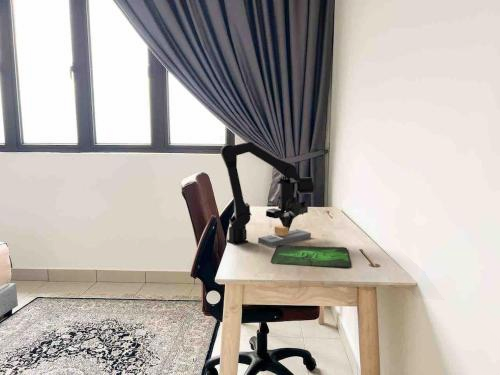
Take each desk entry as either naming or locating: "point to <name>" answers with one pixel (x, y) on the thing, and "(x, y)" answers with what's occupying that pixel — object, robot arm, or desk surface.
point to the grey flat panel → (284, 238)
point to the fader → (281, 230)
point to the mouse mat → (311, 256)
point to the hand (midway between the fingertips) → (287, 231)
